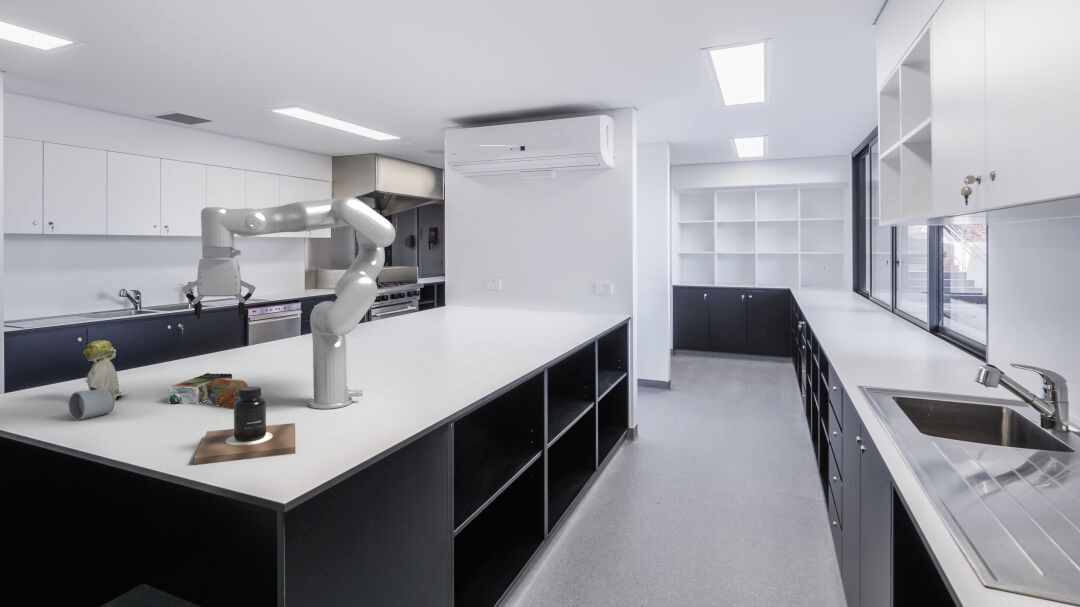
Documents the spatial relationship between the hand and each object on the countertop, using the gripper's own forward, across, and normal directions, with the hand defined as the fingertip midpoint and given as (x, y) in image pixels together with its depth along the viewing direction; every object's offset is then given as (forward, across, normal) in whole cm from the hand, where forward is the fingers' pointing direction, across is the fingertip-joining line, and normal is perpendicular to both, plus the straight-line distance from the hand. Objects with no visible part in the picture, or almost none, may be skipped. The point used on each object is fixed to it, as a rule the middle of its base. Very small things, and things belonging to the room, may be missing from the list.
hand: (220, 317), depth 150 cm
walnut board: (+28, -8, +25) cm, 39 cm away
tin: (+29, 0, -16) cm, 33 cm away
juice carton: (+29, +9, -32) cm, 44 cm away
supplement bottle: (+27, -8, +25) cm, 37 cm away
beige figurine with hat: (+28, +37, -38) cm, 60 cm away
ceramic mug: (+29, +34, -18) cm, 48 cm away
